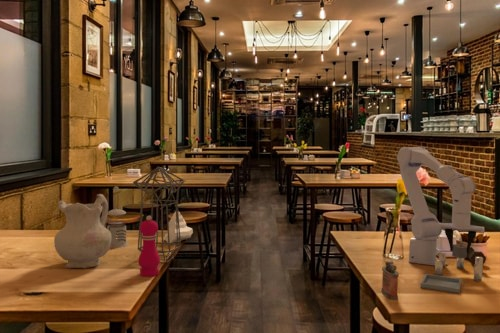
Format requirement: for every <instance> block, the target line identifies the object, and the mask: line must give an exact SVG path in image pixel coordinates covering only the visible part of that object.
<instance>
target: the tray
mask: <svg viewBox="0 0 500 333" xmlns="http://www.w3.org/2000/svg"><path fill="white" fill-rule="evenodd" d="M461 287H462V278H460V277H457V278H456V277H451V276H445V275H444V276H443V275H442V276H438V275H435V274H430V273H425V274H424V276H423V278H422V280H421V282H420V289H425V290H432V291H433V290H434V291H438V292H444V293H445V292H446V293H450V294H451V293H452V294H458V295H460V292H461V291H460V290H461Z"/></svg>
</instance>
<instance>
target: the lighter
mask: <svg viewBox="0 0 500 333" xmlns="http://www.w3.org/2000/svg"><path fill="white" fill-rule="evenodd" d="M384 262H385V266H382V267H381V271H382V278H381V279H382V280H381V282H382V284H381V286H382V287H381V293H382V295H383V296H384V297H385V298H387V299H389V300H390V301H391V300H392V301H396V300H397V301H398V300H399V295H398V289H399V288H398V285H399V284H398V283H399V281H398V280H399V278H398V277H399V272H398V271H397V266H396V264H394V261H389V260H385V261H384Z"/></svg>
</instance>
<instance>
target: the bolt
mask: <svg viewBox="0 0 500 333" xmlns="http://www.w3.org/2000/svg"><path fill="white" fill-rule="evenodd" d="M475 257H483V265H484V264H485V263H486V261H487V258H486V256H485V253H484V252H482V251H479V250H478V251H476V250H475V249H474V248H473V247H472V246H470V249H469V253H467V257H466V258H465V259H468V260H469V261H470V263H471V265H473V266H474V265H475Z"/></svg>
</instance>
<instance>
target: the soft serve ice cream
mask: <svg viewBox="0 0 500 333" xmlns="http://www.w3.org/2000/svg"><path fill="white" fill-rule="evenodd" d="M178 215H179V227H180V239H181V241H184V240H188V239H191V237H192V235H193V233H194V232H193V231H194V230H193V228H192V227H189V226H187V222H186V220H185V219H184V217H183V215H182V214H181V212H180V211H179V210H178ZM168 222H169V239H170V243H177V234H176V211H175V212H174V213H173V214H172V217H171V218H170V220H168ZM163 239H164V240H165V242H166V243H168V231H167V232H166V233H165V235H163ZM178 242H179V232H178Z"/></svg>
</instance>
